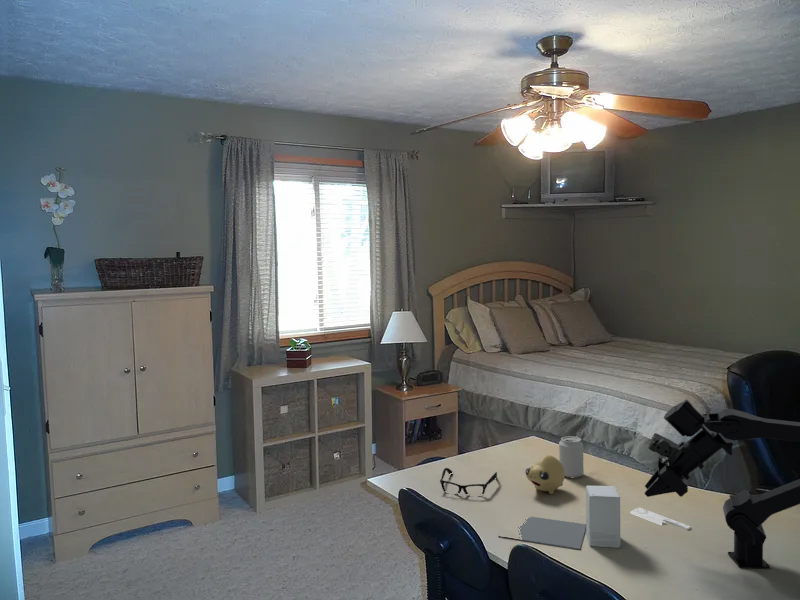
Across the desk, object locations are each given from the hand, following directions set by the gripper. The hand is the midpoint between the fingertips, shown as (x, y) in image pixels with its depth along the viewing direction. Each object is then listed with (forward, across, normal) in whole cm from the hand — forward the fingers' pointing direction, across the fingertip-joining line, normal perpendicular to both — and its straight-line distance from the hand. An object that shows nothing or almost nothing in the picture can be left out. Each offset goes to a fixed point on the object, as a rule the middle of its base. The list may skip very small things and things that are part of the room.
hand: (646, 491), depth 143 cm
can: (+26, -43, -7) cm, 51 cm away
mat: (+27, 0, -8) cm, 28 cm away
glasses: (+47, -24, -26) cm, 59 cm away
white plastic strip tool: (+8, -16, +12) cm, 22 cm away
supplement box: (+17, 0, +3) cm, 17 cm away
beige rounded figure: (+30, -26, -10) cm, 41 cm away
